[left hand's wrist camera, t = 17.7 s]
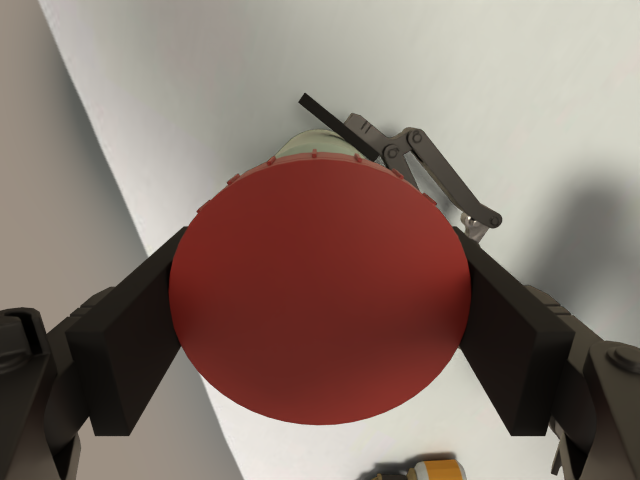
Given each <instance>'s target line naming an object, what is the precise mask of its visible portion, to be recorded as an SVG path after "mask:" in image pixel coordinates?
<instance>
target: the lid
mask: <svg viewBox="0 0 640 480" xmlns="http://www.w3.org/2000/svg"><path fill="white" fill-rule="evenodd" d="M403 178H404V176H403V175H402V174H400V173H399V172H398V171H397V170H396V169H394V168H393V169H392V171H391V170H389V169H387V168H385V167H383V166H381V165H380V164H377V163H374V162H372V161H369V160H366V159H363V158H361V157H360V155H359V154H357V153H355V154H354V156H351V155H347V154H342V153H330V152H317V149H313V151H312V152H310V153H299V154H294V155H289V156H283V157H280V158H277V159H276V157H275V156H273V157H271V158H270V159H269V160H268V161H267V162H265V163H263V164H261V165H259V166H257V167H255V168H253V169H251V170H249V171H247V172H245V173H244V174H242V175H241V176H240V175H239V174H237V175H235V176H234V177H233V178H232V179H230V180H229V181H228V182H227V184H228V185H227V186H226V187H225V188H224V189H223V190H222V191H220V192H219V193H218V194H217V195H216V196H215V197H214V198H213V199H212V200H209V201H207V202H206V203H205V204H204V205H203V206H202V207H200V208H199V209H198V210H197V213H198V214H197V215H196V217H195V218H194V219H193V220H192V222H191V223H190V224H189V226H188V228H187V230H186V231H185V233H184V235H183V236H182V238H181V240H180V242H179V244H178V247H177V250H176V252H175V255H174V258H173V262H172V267H171V271H170V277H169V291H168V294H169V303H170V309H171V315H172V321H173V326H174V329H175V332H176V334H177V337H178V340H179V342H180V344H181V346H182V348H183V350H184V351H185V353H186V355H187V357H188V358H189V360H190V361H191V362H192V364H193V365H194V367H195V368H196V369H197V371H198V372H199V373H200V374H201V375H202V376H203V377H204V378H205V379H206V380H207V381H208V382H209V383H210V384H211V385H212V386H213V387H214V388H216V389H217V390H218V391H219V392H221V393H222V394H223V395H225V396H226V397H228V398H229V399H231V400H232V401H234V402H235V403H237V404H239V405H241V406H243V407H245V408H247V409H249V410H251V411H253V412H256V413H258V414H261V415H264V416H266V417H269V418H273V419H277V420H281V421H284V422H290V423H297V424H306V425H336V424H343V423H350V422H355V421H359V420H363V419H367V418H371V417H373V416H376V415H379V414H382V413H385V412H387V411H389V410H391V409H393V408H395V407H397V406H399V405H401V404H403V403H404V402H406V401H408V400H409V399H411V398H412V397H414V396H415V395H417V394H418V393H419V392H420V391H422V390H423V389H424V388H426V387H427V386H428V385H429V384H430V383H431V382H432V381H433V380H434V379H435V378H436V377H437V376H438V375H439V374H440V373H441V372H442V370H443V369H444V368H445V366H446V365H447V364H448V362H449V361H450V360H451V358H452V356H453V355H454V353H455V351H456V350H457V348H458V346H459V344H460V342H461V339H462V337H463V334H464V332H465V329H466V325H467V321H468V316H469V310H470V304H471V277H470V272H469V267H468V262H467V258H466V256H465V253H464V250H463V247H462V245H461V242H460V240H459V239H458V238H459V237H458V235H457V234H456V233H455V231H454V229H453V228H452V226H451V225H450V223H449V222H448V221H447V219H446V218H445V217H444V215H443V214H442V213H441V211H440V210H439V209H438V208H437V207H436V206H435V205H436V204H437V203H436V202H435V201H434V200H433V199H431V198H430V197H429V196H428V195H427V194H425V193H423V194H422V193H421V192H420V191H419V190H417V189H416V188H415V187H414V186H413V185H412V184H410V183H409V182H407V181H406V180H405V179H403Z"/></svg>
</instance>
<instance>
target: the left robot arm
mask: <svg viewBox="0 0 640 480" xmlns="http://www.w3.org/2000/svg"><path fill="white" fill-rule="evenodd" d="M187 228H188V227H183V228H182V229H180V230H179V231H178V232H177V233H176V234H175V235H174V236H172V237H171V238H170V239H169V240H168V241H167V242H166V243H165V244H163V245H162V246H161V247H160V248H159V249H158V250H157V251H156V252H154V253H153V254H152V255H151V256H150V257H149V258H148V259H146V260H145V261H144V262H143V263H142V264H141V265H140V266H139V267H137V268H136V269H135V270H134V271H133V272H132V273H131V274H130V275H128V276H127V277H126V278H125V279H124V280H123V281H122V282H121V283H119V284H118V285H117V286H116V287H109V288H107V289H105V290H103V291H101V292H99V293H97V294H95V295H93V296H92V297H90V298H89V299H88V300H87V301H86V302H85V303H83V304H82V305H81V306H80V308H77V309H76V310H75V311H74V312H72V313H71V314H70V317H66V318H65V319H64V320H63V321H62V322H60V323H59V324H58V325H57V326H56V327H54V328H53V329H52V330H51V331H50V332H48V333H47V334H46V331H45V328H44V325H43V321H42V318H41V315H40V312H39V311H37V310H35V309H34V308H24V307H21V308H12V309H6V310H2V311H0V480H76V474H77V468H78V462H79V457H80V451H81V444H80V439H79V436H78V430H79V429H80V428H81V426H82V425H83V424H84V422H85V421H86V420H87V418H88V417H90V421H91V424H92V427H93V431H94V434H95V436H129V435H130V434H131V432H132V430H133V428H134V427H135V425H136V423H137V422H138V420H139V418H140V416H141V415H142V413H143V411H144V409H145V408H146V406H147V404H148V402H149V401H150V399H151V397H152V396H153V394H154V392H155V390H156V389H157V387H158V385H159V384H160V382H161V380H162V378H163V377H164V375H165V373H166V371H167V370H168V368H169V366H170V365H171V363H172V361H173V359H174V358H175V356H176V354H177V352H178V351H179V349H180V347H181V344H180V342H179V340H178V337H177V334H176V332H175V329H174V326H173V321H172V315H171V309H170V303H169V294H168V291H169V277H170V271H171V267H172V262H173V258H174V255H175V252H176V250H177V247H178V244H179V242H180V240H181V238H182V236H183V235H184V233H185V231H186V230H187ZM452 228H453V229H454V231H455V233H456V234H457V235H458V237H459V238H458V239H459V240H460V242H461V245H462V247H463V250H464V253H465V256H466V258H467V262H468V267H469V272H470V277H471V304H470V310H469V316H468V321H467V325H466V329H465V332H464V334H463V337H462V339H461V342H460V344H459V347H460V349H461V350H462V352H463V354H464V355H465V357H466V359H467V361H468V362H469V364H470V366H471V368H472V369H473V371H474V373H475V374H476V376H477V378H478V380H479V381H480V383H481V385H482V387H483V388H484V390H485V392H486V393H487V395H488V397H489V399H490V400H491V402H492V404H493V406H494V407H495V409H496V411H497V413H498V414H499V416H500V418H501V419H502V421H503V423H504V425H505V426H506V428H507V430H508V432H509V433H510V435H511V436H545V435H546V432H547V428H548V425H549V422H550V418H551V415H552V416H553V417H554V419H555V420H556V421H557V423H558V424H559V425H560V427H561V428H562V429H563V432H562V436H561V439H560V442H559V445H558V448H557V451H556V455H555V458H554V461H553V464H552V470H551V474H554V475H556V476H557V474H558V471H559V468H560V467H561V466H562V467H563V473H564V479H565V480H640V348H637V347H634V346H631V345H627V344H624V343H620V342H613V341H604V340H603V339H601V338H600V337H599V336H598V335H596V334H595V333H594V332H593V331H592V330H590V329H589V328H588V327H587V326H586V325H584V324H583V323H582V322H581V321H580V320H578V319H577V318H576V317H575V316H574V315H571V313H570V312H569V311H567V310H566V309H565V308H564V307H560V304H559V303H558V302H557V301H555V300H554V299H553V298H552V297H551V296H549V295H548V294H546V293H544V292H542V291H540V290H538V289H536V288H534V287H532V286H523V285H522V284H521V283H520V282H519V281H518V280H516V279H515V278H514V277H513V276H512V275H511V274H510V273H508V272H507V271H506V270H505V269H504V268H503V267H502V266H501V265H499V264H498V263H497V262H496V261H495V260H494V259H493V258H492V257H490V256H489V255H488V254H487V253H486V252H485V251H484V250H482V249H481V248H480V247H479V246H478V245H477V244H476V243H475V242H473V241H472V240H471V239H470V238H469V237H468V236H467V235H465V234H464V233H463V232H462V231H461V230H460V229H459V228H458V227H452Z"/></svg>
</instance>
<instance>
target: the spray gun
mask: <svg viewBox="0 0 640 480" xmlns="http://www.w3.org/2000/svg"><path fill="white" fill-rule="evenodd" d="M371 480H467V479H466V475H465V471H464V469H463V467H462V465H461V464H460V463H459V462H458V461H457V460H437V461H422V462H419V463H417V464H416V466H415V467H414V468H409V471H408V474H407V475H406V476H405V475H382V476H381V473H378V474H377V477H375V478H373V479H371Z"/></svg>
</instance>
